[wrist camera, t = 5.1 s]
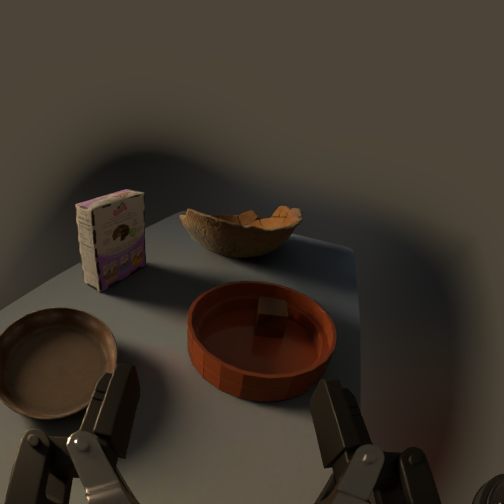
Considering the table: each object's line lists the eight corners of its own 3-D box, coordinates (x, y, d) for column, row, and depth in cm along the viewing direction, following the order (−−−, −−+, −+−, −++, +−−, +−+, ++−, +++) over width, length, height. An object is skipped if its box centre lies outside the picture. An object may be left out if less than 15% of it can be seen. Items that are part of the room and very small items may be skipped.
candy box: (128, 258, 60) (126, 188, 53) (147, 266, 58) (146, 192, 51) (83, 282, 48) (73, 202, 41) (101, 293, 46) (91, 208, 39)
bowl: (334, 328, 47) (343, 303, 45) (308, 424, 29) (322, 400, 26) (225, 294, 53) (228, 269, 51) (159, 364, 35) (156, 335, 32)
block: (281, 321, 47) (286, 299, 45) (282, 338, 42) (288, 316, 41) (254, 318, 46) (258, 296, 45) (254, 335, 42) (258, 313, 40)
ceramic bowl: (225, 216, 90) (237, 173, 82) (299, 256, 81) (318, 210, 73) (155, 245, 66) (162, 188, 58) (244, 305, 57) (266, 244, 49)
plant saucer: (142, 412, 27) (138, 398, 25) (-1, 438, 15) (-14, 423, 14) (105, 313, 42) (102, 297, 40) (2, 332, 30) (-5, 317, 28)
